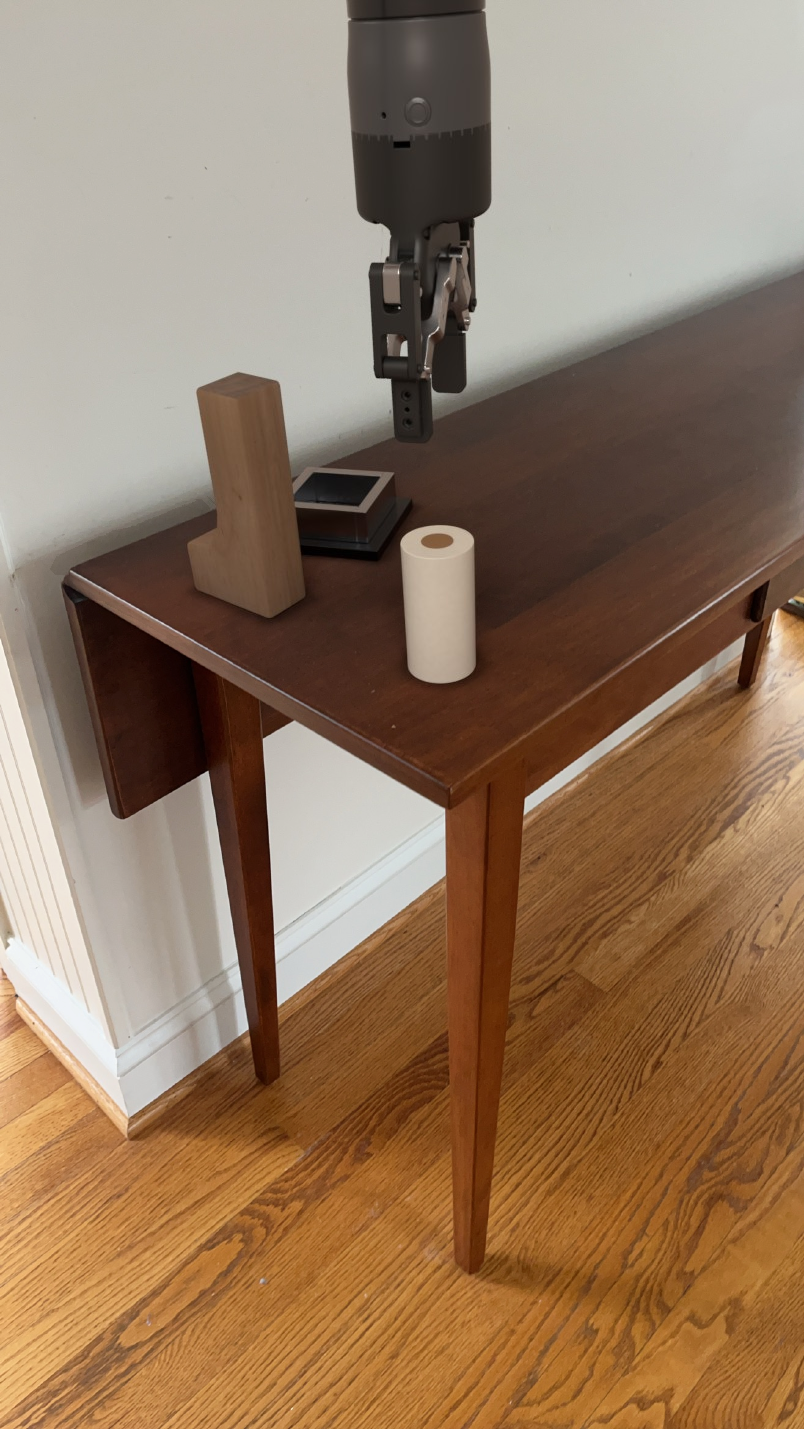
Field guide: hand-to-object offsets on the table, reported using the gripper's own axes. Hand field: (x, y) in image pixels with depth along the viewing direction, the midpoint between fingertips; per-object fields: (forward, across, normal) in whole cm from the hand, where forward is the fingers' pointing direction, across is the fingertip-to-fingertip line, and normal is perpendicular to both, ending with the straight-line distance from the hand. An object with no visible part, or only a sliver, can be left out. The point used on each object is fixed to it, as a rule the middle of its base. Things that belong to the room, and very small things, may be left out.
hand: (432, 415), depth 64 cm
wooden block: (+19, -7, -18) cm, 27 cm away
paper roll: (+19, 0, 0) cm, 19 cm away
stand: (+19, -20, -15) cm, 31 cm away
